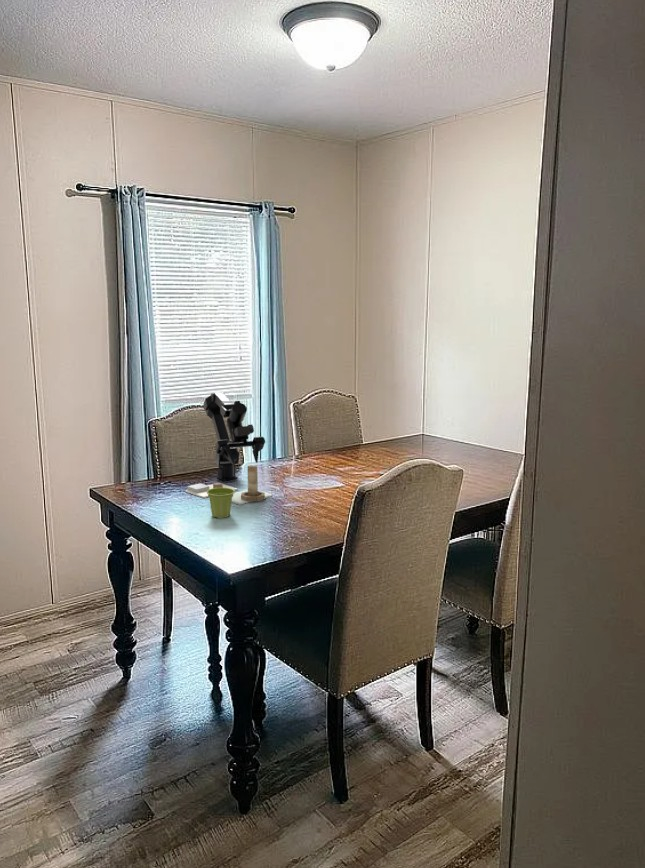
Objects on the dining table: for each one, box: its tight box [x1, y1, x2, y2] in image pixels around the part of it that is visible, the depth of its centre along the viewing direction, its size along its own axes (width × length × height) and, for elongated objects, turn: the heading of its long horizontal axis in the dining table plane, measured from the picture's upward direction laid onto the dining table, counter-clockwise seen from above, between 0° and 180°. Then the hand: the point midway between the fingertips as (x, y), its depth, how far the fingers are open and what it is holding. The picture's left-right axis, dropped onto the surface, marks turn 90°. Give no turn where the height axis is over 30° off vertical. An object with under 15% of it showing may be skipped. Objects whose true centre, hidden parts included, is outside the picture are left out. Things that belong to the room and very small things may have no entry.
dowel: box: [247, 464, 259, 497], centre depth 248 cm, size 4×4×12 cm
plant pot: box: [207, 488, 236, 519], centre depth 230 cm, size 9×9×9 cm
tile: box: [185, 482, 239, 499], centre depth 260 cm, size 16×12×4 cm
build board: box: [231, 489, 273, 506], centre depth 251 cm, size 16×14×2 cm
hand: (245, 463), depth 254 cm, fingers open, 9 cm apart
